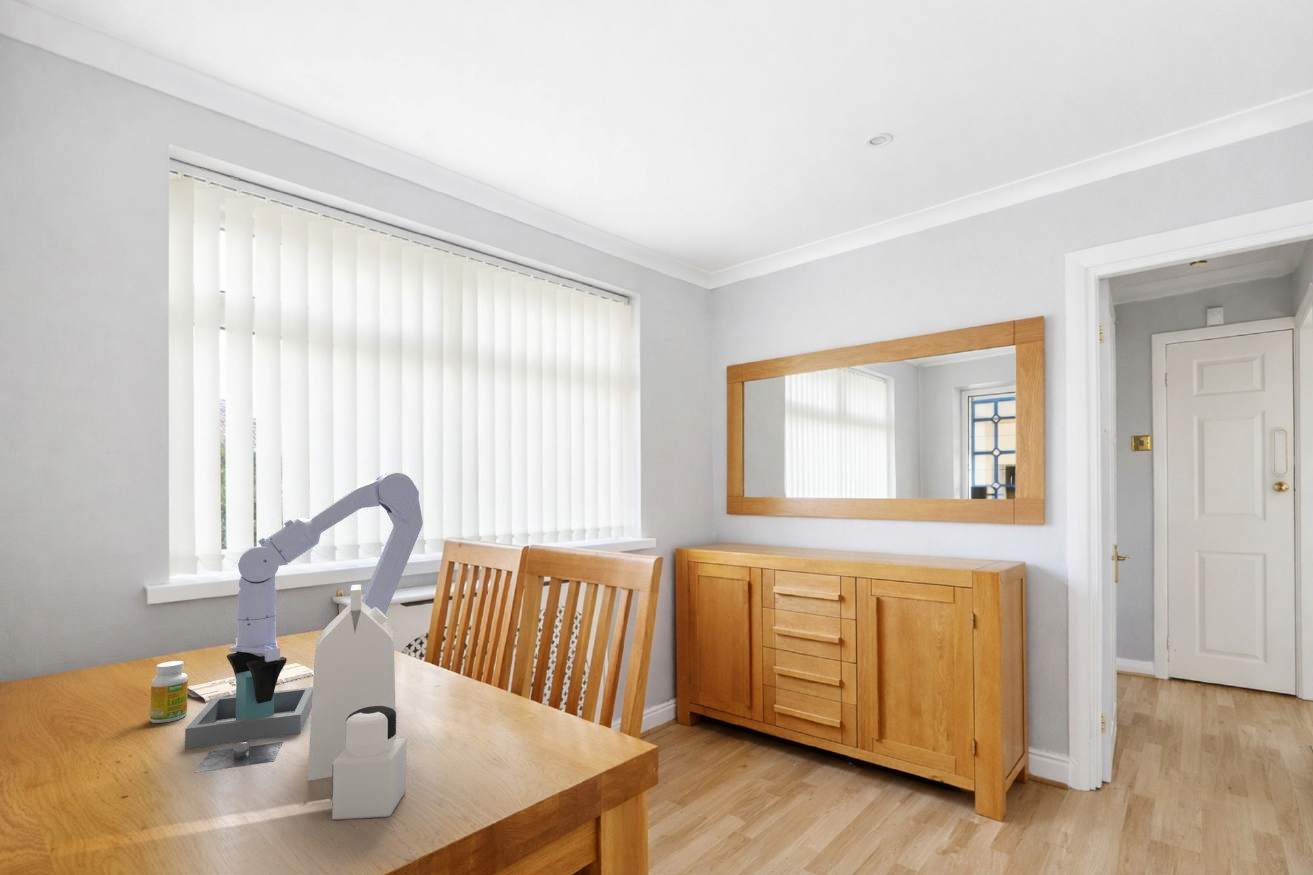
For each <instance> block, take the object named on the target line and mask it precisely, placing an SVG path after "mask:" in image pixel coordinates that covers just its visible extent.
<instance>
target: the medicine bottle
mask: <svg viewBox="0 0 1313 875" xmlns="http://www.w3.org/2000/svg"><path fill="white" fill-rule="evenodd" d="M331 788H332V789H331V818H332V820H333V821H337V820H354V819H371V818H387V817H388V818H389V817H391V815H392V814H393V812H394V810H395V809H396V807H397V806H398V804H399V803H400V801H401V800H402V798H403V796H404V795H405V793H406V791H407V738H405V737H401V738H400V737H399V738H398V737H397V711H396V712H395V710H394V709H392V708H389V707H386V706H371V707H366V708H362V709H359V710H357V711H355V712H353V713H351V714H350V715H349V716H348V717H347V719H346V749H345V750H344V751H343V752H342V753H341V754H340V755H339V756H338V758H337V759H336V760H335V761H334V762H333V773H332V787H331Z"/></svg>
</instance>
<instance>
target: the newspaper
mask: <svg viewBox="0 0 1313 875" xmlns="http://www.w3.org/2000/svg"><path fill="white" fill-rule="evenodd" d="M311 675H314V669H311V668H308V667H307V666H305V665H303V664H299V663H297V662H295V663H290V664H285V665H284V667H283V668H282V670H281V672H280V674H279V677H278V680H277V683H276V686H279V685H281V684H280V683H283V684H286V682H287V683H289V682H288V681H291V682H294V681H293V680H295V681H297V680H296V679H299V680H302V679H301V678H303V677H307V678H309V677H308V676H311ZM311 677H312V676H311ZM303 679H304V678H303ZM278 684H279V685H278ZM187 695H189V696H190V697H193V698H198V697H201V698H203V700H204V702H205V704H207V703H209V702H210V701H211V700H212V699H213V698H219V697H228V696H236V677H235V676H231V677H225V678H222V679H217V680H212V681H209V682H208V681H207V682H202V683H199V684H198V683H197V684H194V685H188V694H187Z"/></svg>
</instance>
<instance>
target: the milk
mask: <svg viewBox="0 0 1313 875" xmlns="http://www.w3.org/2000/svg"><path fill="white" fill-rule="evenodd" d="M362 596H363V595H362V583H360V584H351V586H350V603H349V604H348V605H347V606H346V607H345V608H344V609H343V610H342V611H341V612H340V613H339V614H337V616H336V617H335V618H334V619H333V620H332V621H330V622H329V624H328V625H327V626H326V627H325V628H324V629H322V631H321V632H320V633H319V636H318V638H317V641H316V644H315V650H314V651H315V653H314V662H313V671H314V676H312V677H313V681H312V687H313V695H312V709H311V711H310V716H311V717H310V731H309V746H308V762H307V763H308V766H307V782H309V781H315V780H321V779H325V778H326V779H327V778H331V777H332V773H333V762H334V761H335V760H336V759H337V758H338V756H339V755H340V754H341V753H342V752H343V751H344V750H345V749H346V719H347V717H348V716H349V715H350V714H351V713H353V712H355V711H357V710H359V709H362V708H366V707H371V706H386V707H389V708H392V709H394V710H395V712H396V713H397V711H396V709H397V708H396V675H395V669H396V668H395V640H394V639H395V638H394V631H393V627H392V626H391V625H390V624H389V623H388V619H389V618H388V616H386V615H384V613H382V612H381V611H380V610H379V609H378V608H377V607H374V608H373V609H371V608H370V607H368V606H367V605H366V604H365V603H364V602H362V599H363V597H362Z"/></svg>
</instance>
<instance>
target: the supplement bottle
mask: <svg viewBox="0 0 1313 875" xmlns="http://www.w3.org/2000/svg"><path fill="white" fill-rule="evenodd" d="M184 664H185V663H184V661H182V660H172V661H165V662H162V663H159V664H157V665H156V669H155V670H156V671H155V672H156V674H157V676H156V677H154V678H153V679H152V680H151V684H150V712H149V713H150V714H149V721H150V722H151V723H152V724H165V723H172V722H175V721H179V720H181V719H183V718H185V717H186V716H187V714H188V695H189V694H188V686H189V685H188V684H189V676H188V675H187V673H184V672H183V670H184V666H185V665H184Z"/></svg>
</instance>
